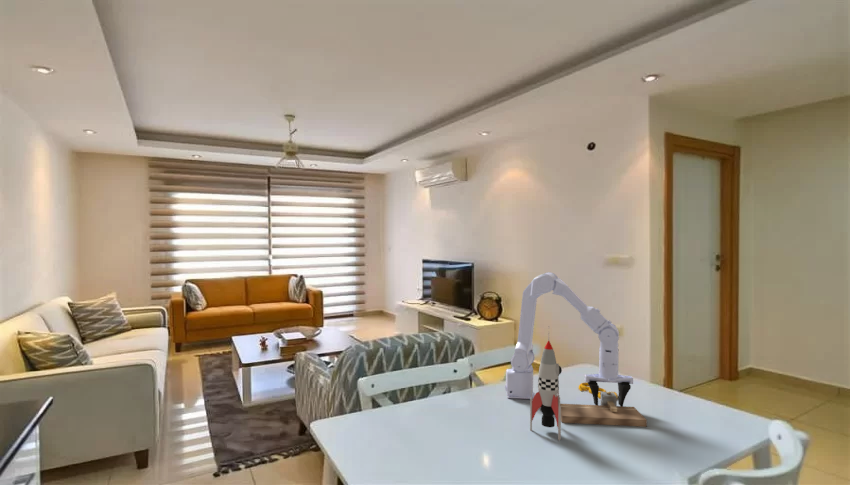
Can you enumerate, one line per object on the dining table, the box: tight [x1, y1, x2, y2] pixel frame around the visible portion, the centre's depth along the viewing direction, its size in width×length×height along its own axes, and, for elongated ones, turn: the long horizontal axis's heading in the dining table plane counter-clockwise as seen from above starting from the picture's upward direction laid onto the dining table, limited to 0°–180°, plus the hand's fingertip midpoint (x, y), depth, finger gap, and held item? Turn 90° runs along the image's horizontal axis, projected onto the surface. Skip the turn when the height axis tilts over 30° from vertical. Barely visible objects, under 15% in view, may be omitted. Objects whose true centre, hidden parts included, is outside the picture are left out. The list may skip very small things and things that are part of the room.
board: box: [560, 403, 648, 428], centre depth 134 cm, size 24×10×2 cm, turn 84°
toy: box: [529, 325, 563, 441], centre depth 123 cm, size 9×8×30 cm
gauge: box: [600, 391, 618, 412], centre depth 137 cm, size 4×10×6 cm, turn 169°
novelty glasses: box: [578, 382, 619, 400], centre depth 156 cm, size 17×2×10 cm
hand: (608, 404), depth 141 cm, fingers open, 7 cm apart
